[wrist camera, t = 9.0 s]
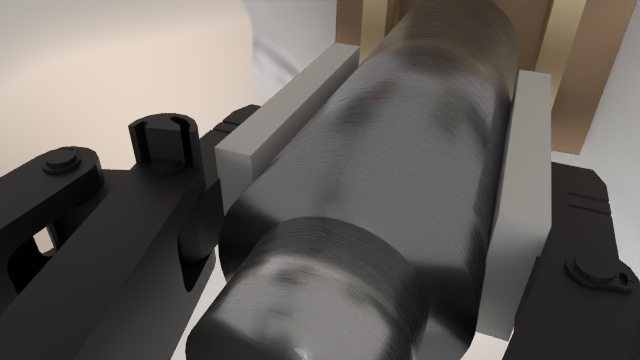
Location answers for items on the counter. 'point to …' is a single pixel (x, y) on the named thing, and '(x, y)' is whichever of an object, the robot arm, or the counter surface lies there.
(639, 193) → the counter surface
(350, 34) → the tool stand
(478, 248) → the grey cylinder
